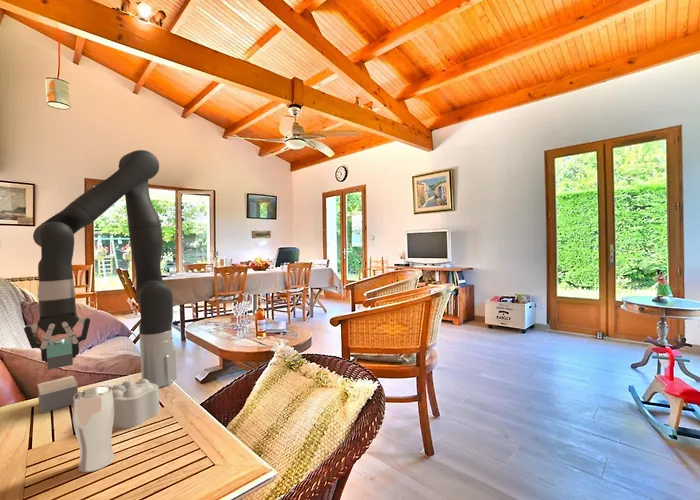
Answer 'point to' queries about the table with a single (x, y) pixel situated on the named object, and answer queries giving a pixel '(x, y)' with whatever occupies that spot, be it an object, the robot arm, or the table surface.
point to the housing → (59, 353)
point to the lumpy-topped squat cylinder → (135, 403)
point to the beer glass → (94, 427)
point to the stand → (57, 393)
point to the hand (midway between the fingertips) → (61, 359)
